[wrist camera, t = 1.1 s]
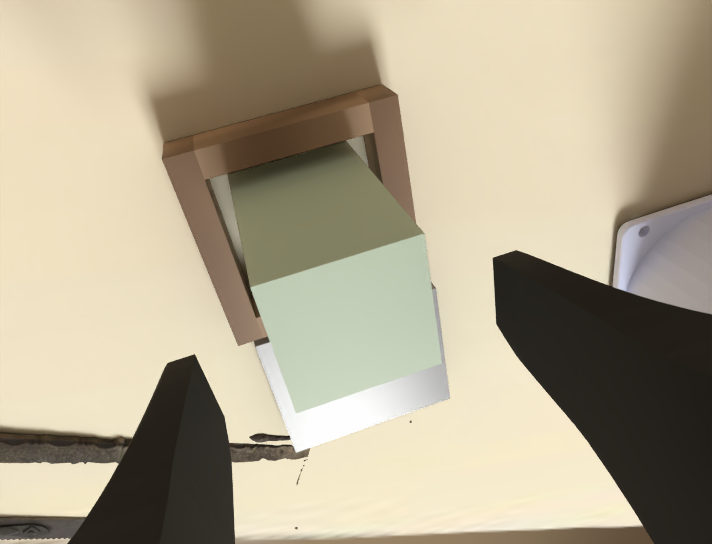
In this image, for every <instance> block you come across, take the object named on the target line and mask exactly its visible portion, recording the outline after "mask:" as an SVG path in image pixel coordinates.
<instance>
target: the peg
mask: <svg viewBox="0 0 712 544" xmlns="http://www.w3.org/2000/svg"><path fill="white" fill-rule="evenodd" d="M228 178H229V183H230V188H231V193H232V198H233V203H234V208H235V214H236V219H237V224H238V229H239V234H240V239H241V244H242V249H243V254H244V259H245V264H246V269H247V274H248V279H249V284H250V288H251V291H252V294H253V297H254V299H255V302H256V305H257V308H258V310H259V313H260V316H261V319H262V321H263V324H264V327H265V330H266V332H267V335H268V338H269V341H270V343H271V346H272V349H273V352H274V354H275V357H276V360H277V363H278V365H279V368H280V371H281V374H282V376H283V379H284V382H285V385H286V387H287V390H288V393H289V396H290V398H291V401H292V404H293V407H294V409H295V412H296V414H297V413H299V412H302V411H305V410H308V409H311V408H314V407H317V406H320V405H323V404H326V403H329V402H331V401H334V400H337V399H340V398H343V397H346V396H349V395H352V394H355V393H358V392H361V391H363V390H366V389H369V388H372V387H375V386H378V385H381V384H384V383H387V382H390V381H393V380H395V379H398V378H401V377H404V376H407V375H410V374H413V373H416V372H419V371H422V370H425V369H428V368H430V367H433V366H436V365H439V364H442V360H441V353H440V346H439V338H438V331H437V323H436V316H435V308H434V301H433V294H432V286H431V279H430V271H429V264H428V257H427V249H426V242H425V234H424V232H423V231H422V230H421V229H420V228H419V227H418V225H417V224H416V223H415V222H414V221H413V220H412V218H411V217H410V216H409V215H408V214H407V212H406V211H405V210H404V209H403V208H402V207H401V205H400V204H399V203H398V202H397V201H396V199H395V198H394V197H393V196H392V195H391V194H390V192H389V191H388V190H387V189H386V188H385V187H384V185H383V184H382V183H381V182H380V181H379V179H378V178H377V177H376V176H375V175H374V174H373V172H372V171H371V170H370V169H369V168H368V166H367V165H366V164H365V163H364V162H363V161H362V159H361V158H360V157H359V156H358V155H357V154H356V152H355V151H354V150H353V149H352V148H351V146H350V145H349V144H348V143H347V142H346V141H345V142H342V143H338V144H335V145H331V146H328V147H324V148H321V149H317V150H313V151H310V152H306V153H303V154H299V155H296V156H292V157H289V158H285V159H281V160H278V161H274V162H271V163H267V164H264V165H260V166H257V167H253V168H249V169H246V170H242V171H239V172H235V173H232V174H228Z"/></svg>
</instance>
